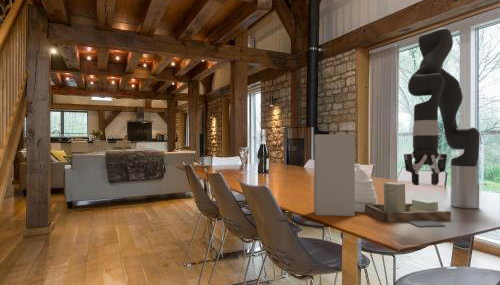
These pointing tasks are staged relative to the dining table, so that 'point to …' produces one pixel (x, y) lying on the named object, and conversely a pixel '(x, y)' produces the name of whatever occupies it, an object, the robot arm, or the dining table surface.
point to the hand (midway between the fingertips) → (425, 184)
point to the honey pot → (363, 189)
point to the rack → (405, 214)
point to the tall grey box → (334, 175)
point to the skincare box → (394, 197)
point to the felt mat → (425, 223)
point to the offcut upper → (425, 205)
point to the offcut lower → (416, 210)
